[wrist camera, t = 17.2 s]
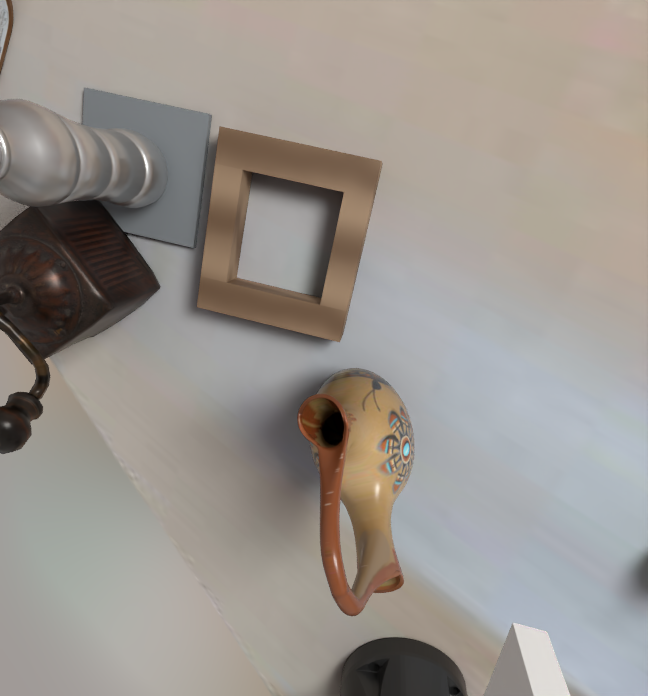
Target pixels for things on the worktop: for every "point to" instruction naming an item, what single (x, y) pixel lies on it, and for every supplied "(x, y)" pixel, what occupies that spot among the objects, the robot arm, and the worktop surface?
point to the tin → (5, 27)
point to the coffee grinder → (62, 292)
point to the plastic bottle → (74, 160)
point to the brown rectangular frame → (229, 219)
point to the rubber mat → (180, 156)
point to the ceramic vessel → (359, 477)
